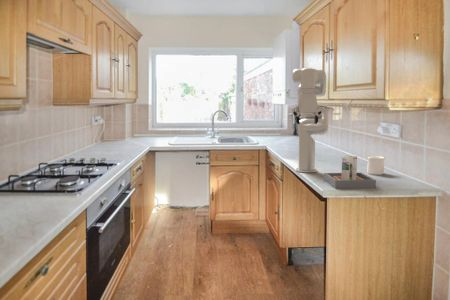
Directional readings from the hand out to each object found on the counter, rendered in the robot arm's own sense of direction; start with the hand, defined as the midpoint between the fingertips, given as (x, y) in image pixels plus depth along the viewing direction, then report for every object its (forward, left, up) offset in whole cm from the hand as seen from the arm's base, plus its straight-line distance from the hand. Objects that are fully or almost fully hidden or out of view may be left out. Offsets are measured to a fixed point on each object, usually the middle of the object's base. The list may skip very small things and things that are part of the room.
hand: (306, 123), depth 221 cm
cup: (-12, +43, -30) cm, 54 cm away
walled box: (+16, +18, -30) cm, 39 cm away
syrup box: (+16, +19, -30) cm, 39 cm away
